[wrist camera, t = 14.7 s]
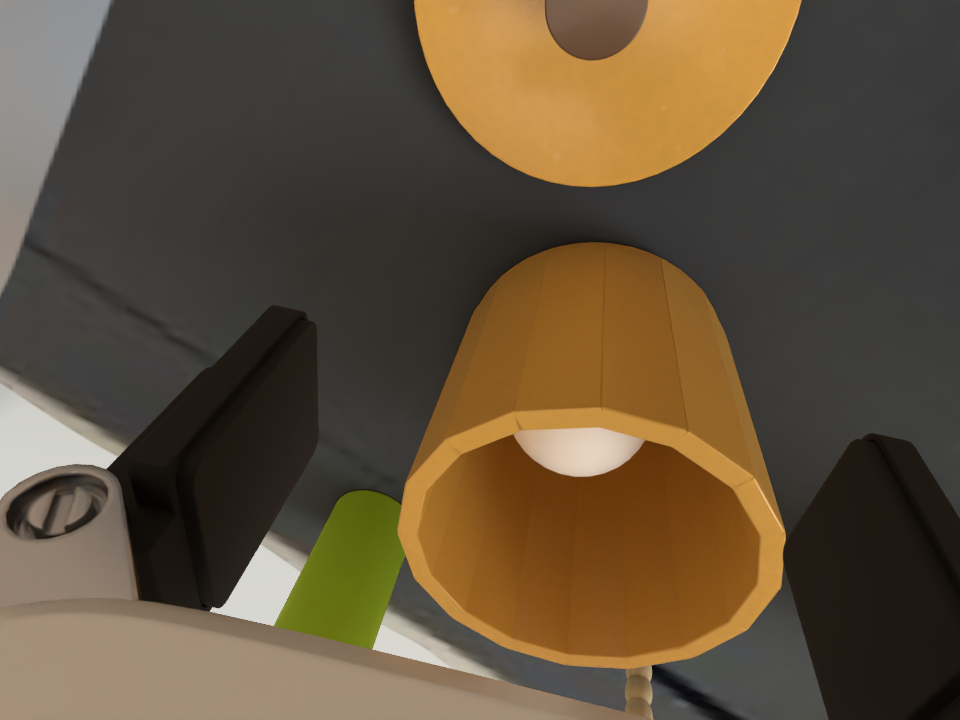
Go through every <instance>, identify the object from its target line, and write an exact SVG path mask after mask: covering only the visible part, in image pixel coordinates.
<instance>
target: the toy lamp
mask: <svg viewBox="0 0 960 720" xmlns="http://www.w3.org/2000/svg"><path fill="white" fill-rule="evenodd" d="M626 676H627V679H628V681H627V683H626V686H625V697H626V701H627V705H626V707H625V712H626V713H630V714H634V715H638V716H642V717H646V718H650V719H653V715H652V710H651V708H650V705H651V702H652V687H651V684H650V680H651V677H652V668H651V665H650V666H644V667H639V668H633V669H632V668H630V669H626Z"/></svg>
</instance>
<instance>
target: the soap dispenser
mask: <svg viewBox="0 0 960 720" xmlns="http://www.w3.org/2000/svg"><path fill="white" fill-rule="evenodd" d="M400 511H401V504H399V503H398V502H397V501H395V500H394V499H392V498H390V497H388V496H386V495H384V494H381V493H378V492H373V491H366V490H359V491H353V492H349V493H347V494H345V495H343V496H342V497H341V498H340V499H339V500H338V501H337V503H336V505H335V507H334V509H333V511H332V513H331V515H330V517H329V519H328V521H327V522H326V524H325V526H324V528H323V530H322V532H321V534H320V536H319V538H318V540H317V542H316V544H315V546H314V548H313V550H312V552H311V554H310V556H309V558H308V560H307V562H306V564H305V566H304V568H303V570H302V572H301V574H300V576H299V577H298V580H297V582H296V583H295V585H294V587H293V589H292V591H291V593H290V595H289V597H288V599H287V601H286V603H285V605H284V607H283V609H282V611H281V613H280V615H279V617H278V619H277V621H276V623H275V625H274V627H279V628H283V629H288V630H292V631H297V632H301V633H305V634H310V635H314V636H318V637H322V638H326V639H330V640H335V641H339V642H343V643H347V644H351V645H355V646H359V647H363V648H367V649H371V650H372V648H373V645H374V642H375V639H376V637H377V634H378V631H379V628H380V625H381V622H382V620H383V617H384V614H385V611H386V608H387V605H388V602H389V600H390V597H391V594H392V591H393V588H394V585H395V582H396V579H397V577H398V574H399V571H400V568H401V565H402V562H403V559H404V557H405V552H404V549H403V547H402V544H401V541H400V539H399V536H398V533H397V527H398V522H399V516H400Z"/></svg>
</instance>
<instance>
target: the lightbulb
mask: <svg viewBox="0 0 960 720" xmlns="http://www.w3.org/2000/svg"><path fill="white" fill-rule="evenodd" d="M514 437H515V439H516V440H517V442H518V443H519V444H520V446H521V447H522V449H523V450H524V451H525V452H526V453H527V454H528V455H529V456H530V457H531V458H532V459H533V460H534V461H536V462H537V463H539V464H541V465H542V466H544V467H545V468H547V469H549V470H552V471H554V472H557V473H559V474H563V475H569V476H574V477H590V476H595V475H599V474H604V473H606V472H609V471H611V470H613V469H616V468H618V467H619V466H621V465H622V464H624V463H625V462H626V461H628V460H629V459H630V458H631V457H632V456H633V455H634V454H635V453H636V452H637V451H638V450H639V449H640V447H641V446H642V444H643V442H644V441H645V440H644V439H640V438H637V437H633V436H629V435H625V434H622V433H618V432H614V431H611V430H607V429H603V428H600V427H598V428H572V429H546V430H522V431H519V432H517V433H514Z"/></svg>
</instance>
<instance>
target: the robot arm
mask: <svg viewBox="0 0 960 720" xmlns="http://www.w3.org/2000/svg"><path fill="white" fill-rule="evenodd" d="M318 435H319V430H318V375H317V328H316V324H315V323H314V322H311V321H308V317H307V314H306V313H305V312H304V311H299V310H294V309H289V308H285V307H280V306H275V305H274V306H271V307H269V308H268V309H267V310H266V311H265V312H264V313H263V314H262V315H261V316H260V318H259V319H258V320H257V321H256V322H255V323H254V324H253V325H252V326H251V327H250V328H249V329H248V330H247V331H246V332H245V333H244V334H243V335H242V336H241V337H240V338H239V339H238V340H237V341H236V343H235V344H234V345H233V346H232V347H231V348H230V349H229V350H228V351H227V352H226V353H225V354H224V355H223V356H222V357H221V358H220V359H219V360H218V361H217V362H216V363H215V364H214V365H213V366H212V367H209V368H206V369H205V370H203V371H202V372H201V373H200V374H199V375H198V376H197V377H196V378H195V379H194V380H193V381H192V382H191V383H190V384H189V385H188V386H187V387H186V388H185V389H184V390H183V391H182V392H181V393H180V394H179V395H178V396H177V397H176V398H175V399H174V400H173V401H172V402H171V403H170V404H169V405H168V406H167V408H166V409H165V410H164V411H163V412H162V413H161V414H160V415H159V416H158V417H157V418H156V419H155V420H154V421H153V422H152V423H151V424H150V425H149V426H148V427H147V428H146V429H145V430H144V431H143V432H142V433H141V434H140V435H139V436H138V437H137V438H136V439H135V440H134V441H133V442H132V443H131V444H130V445H129V447H128V448H127V449H126V450H125V451H124V452H123V453H122V454H121V455H120V456H119V457H118V458H117V459H116V460H115V461H114V462H113V463H112V464H111V465H110V466H109V467H108V468H107V469H103V468H100V467H97V466H94V465H79V464H76V465H75V464H74V465H67V466H60V467H56V468H52V469H49V470H46V471H43V472H40V473H37V474H35V475H33V476H31V477H29V478H27V479H26V480H24V481H22V482H20V483H18V484H17V485H16V486H15V487H13V488H12V489H11V490H10V491H8V492H7V493H6V494H5V495H4V496H3V497H2V499H1V500H0V720H654V719H650V718H646V717H642V716H638V715H634V714H630V713H626V712H622V711H618V710H614V709H610V708H606V707H602V706H598V705H594V704H590V703H586V702H582V701H578V700H574V699H570V698H566V697H562V696H558V695H554V694H550V693H546V692H542V691H538V690H534V689H530V688H526V687H522V686H518V685H514V684H510V683H506V682H502V681H498V680H494V679H490V678H486V677H482V676H478V675H474V674H470V673H466V672H462V671H457V670H453V669H449V668H445V667H441V666H437V665H432V664H429V663H425V662H420V661H417V660H412V659H408V658H404V657H400V656H396V655H392V654H388V653H384V652H379V651H376V650H371V649H367V648H363V647H359V646H355V645H351V644H347V643H343V642H339V641H335V640H330V639H326V638H322V637H318V636H314V635H310V634H305V633H301V632H297V631H292V630H288V629H283V628H279V627H274V626H270V625H266V624H261V623H257V622H252V621H248V620H243V619H239V618H235V617H230V616H226V615H221V614H216V613H212V612H210V610H211V608H212V607H215V608H220V607H222V606H223V605H224V604H225V603H226V601H227V600H228V598H229V596H230V595H231V593H232V591H233V589H234V588H235V586H236V584H237V583H238V581H239V579H240V578H241V576H242V574H243V573H244V571H245V569H246V567H247V566H248V564H249V562H250V560H251V559H252V557H253V556H254V554H255V552H256V551H257V549H258V547H259V545H260V544H261V542H262V540H263V539H264V537H265V535H266V534H267V532H268V530H269V529H270V527H271V525H272V523H273V522H274V520H275V518H276V517H277V515H278V513H279V512H280V510H281V508H282V506H283V505H284V503H285V501H286V500H287V498H288V496H289V495H290V493H291V491H292V489H293V488H294V486H295V484H296V483H297V481H298V479H299V478H300V476H301V474H302V473H303V471H304V469H305V467H306V466H307V464H308V462H309V461H310V459H311V457H312V456H313V454H314V452H315V449H316V446H317V442H318ZM783 563H784V566H785V570H786V573H787V577H788V580H789V584H790V587H791V591H792V594H793V597H794V601H795V604H796V608H797V611H798V615H799V618H800V622H801V625H802V629H803V632H804V636H805V639H806V642H807V646H808V649H809V653H810V656H811V660H812V663H813V667H814V670H815V674H816V677H817V680H818V684H819V687H820V691H821V694H822V698H823V701H824V705H825V708H826V712H827V715H828V718H829V720H960V518H959V517H958V515H957V514H956V512H955V510H954V509H953V507H952V506H951V504H950V502H949V501H948V499H947V498H946V496H945V494H944V493H943V491H942V489H941V488H940V486H939V485H938V483H937V481H936V480H935V478H934V477H933V475H932V473H931V472H930V470H929V469H928V467H927V465H926V464H925V462H924V461H923V459H922V457H921V456H920V454H919V453H918V451H917V449H916V448H915V446H914V445H913V444H912V443H911V442H908V441H906V440H901V439H897V438H892V437H887V436H883V435H878V434H868V435H866V436H864V437H863V438H862V440H860V439H856V440H854V441H852V442H851V443H850V444H849V446H848V447H847V449H846V450H845V452H844V453H843V455H842V456H841V458H840V459H839V461H838V462H837V464H836V465H835V467H834V469H833V470H832V472H831V473H830V475H829V476H828V478H827V479H826V481H825V482H824V484H823V485H822V487H821V488H820V490H819V491H818V493H817V494H816V496H815V497H814V499H813V501H812V502H811V504H810V505H809V507H808V508H807V510H806V511H805V513H804V514H803V516H802V517H801V519H800V520H799V522H798V523H797V525H796V526H795V528H794V529H793V531H792V532H791V534H790V536H789V537H788V539H787V540H786V542H785V545H784V548H783Z"/></svg>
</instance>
